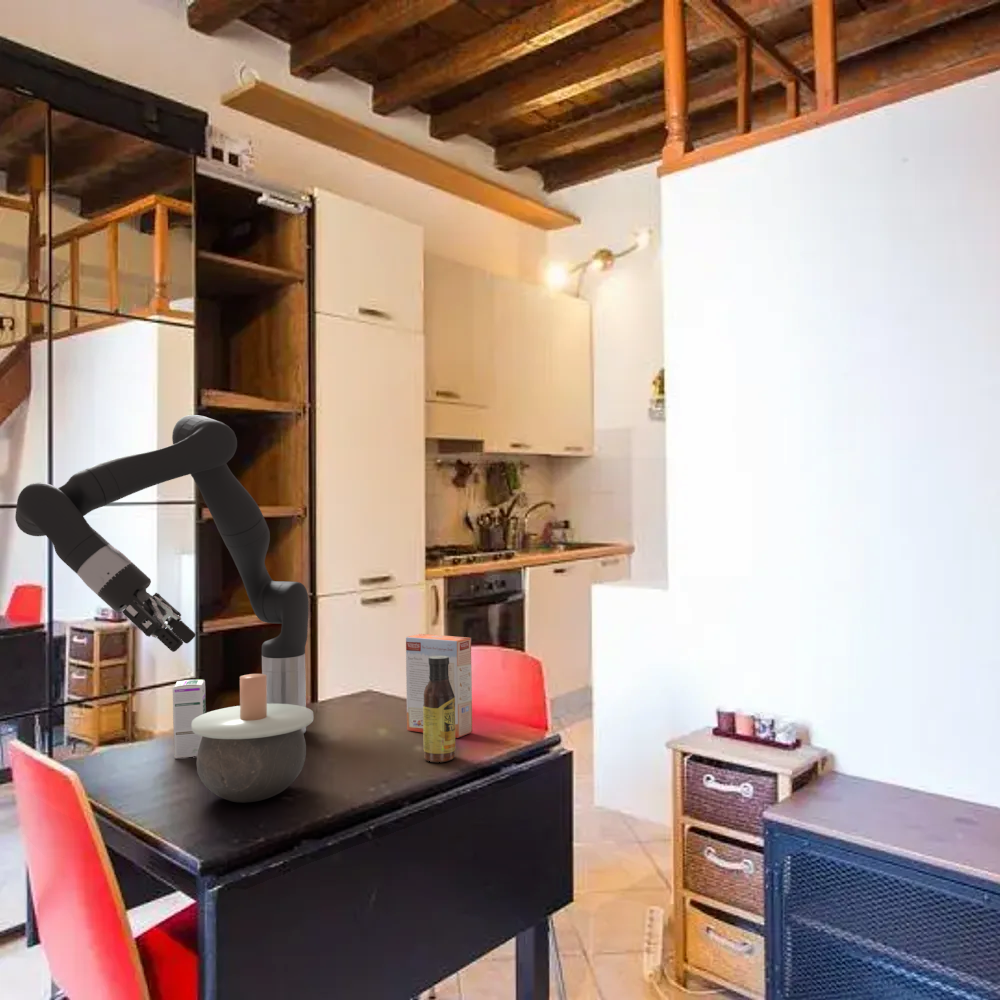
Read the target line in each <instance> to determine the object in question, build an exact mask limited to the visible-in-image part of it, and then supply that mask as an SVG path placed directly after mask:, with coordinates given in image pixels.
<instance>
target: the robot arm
mask: <svg viewBox="0 0 1000 1000" xmlns="http://www.w3.org/2000/svg"><path fill="white" fill-rule="evenodd" d="M237 439H238V438H237V437H236V434H235V431H234V430H233V428H230V426H229V425H227V424H225V423H224V422H222V421H219V420H216V419H213V418H210V417H207V416H204V415H198V414H189V415H185V416H183V417H180V419H178V421H177V422H176V423H175V425H174V427H173V430H172V437H171V440H172V444H171V445H168V446H165V447H162V448H158V449H155V450H151V451H146V452H140V453H139V452H138V453H135V454H129V455H124V456H120V457H115V458H112V459H109V460H106V461H103V462H100V463H97V464H95V465H93V466H91V467H87V468H84V469H82V470H80V471H77V472H76V473H74V474H72V476H70V478H69V479H68V480H67V482H65V483H64V484H63V485H62V486H60V487H56V486H54V485H52V484H50V483H46V482H34V483H30V484H29V485H26V486H25V487H24V488H23V489H22V490H21V491H20V493H19V495H18V497H17V501H16V508H15V517H14V519H15V523H16V525H17V527H18V528H19V530H20V531H21V532H23V533H24V534H27V535H29V536H33V537H44V536H45V537H47V538H48V540H49V541H50V542H51V543H52V545H53V547H54V548H53V549H54V551H55V554H56V555H57V556H58V558H59V559H60V560H61V561H62V562H63V563H64V564H65V565H66V566H68V568H70V569H71V570H72V571H73V572H74V573H75V574H76V575H78V577H79V578H80V579H81V580H82V582H83V583H84V584H85V585H86V586H87V587H88V588H89V590H91V591H92V592H93V593H95V595H97V596H98V597H99V598H100V599H101V600H102V601H103V602H104V603H106V604H107V606H109V607H110V608H111V609H112V610H113V611H114V612H117V613H119V612H122V613H123V615H124V616H126V618H127V619H129V620H130V621H131V622H132V623H133V624H134V625H135V626H136V627H137V628H138V630H140V631H141V632H142V633H143V634H144V635H145V636H146V637H149V638H150V637H151V636H152V637H153V638H156V639H158V640H159V641H160V643H162V644H163V645H164V646H165V647H166V648H167V649H169V650H170V651H171V652H176V651H177V650H179V649H180V648H181V647H182V645H184V643H185V644H189V643H190V642H192V640H194V638H195V637H196V633H195V632H194V631H193V630H192V629H191V628H190V627H189V626H188V625H186V624H185V622H183V620H182V618H181V616H182V614H181V612H180V611H178V610H177V609H176V608H175V607H174V606H172V605H171V604H170V602H168V601H167V600H166V599H165V598H163V597H162V596H161V595H160V594H159V593H158V592H155V593H154V594H153V595H151V594H150V593H148V591H147V589H148V588H149V587H150V586H151V583H152V580H151V578H150V577H149V576H147V574H145V573H144V572H143V571H142V570H141V569H140V568H139V566H137V565H135V563H134V562H132V561H131V560H130V559H129V558H128V557H127V556H126V555H125V554H124V553H122V551H121V550H118V549H117V548H116V547H114V545H112V544H111V543H110V542H108V540H106V538H104V537H103V536H102V535H101V534H100V533H99V532H97V531H96V530H95V529H94V528H93V527H91V525H90V524H89V523H88V521H87V520H86V518H85V517H84V516H86V515H87V514H89V513H91V512H92V511H94V510H97V509H100V508H102V507H105V506H107V505H109V504H112V503H114V502H116V501H119V500H121V499H123V498H126V497H128V496H130V495H132V494H135V493H138V492H140V491H142V490H145V489H148V488H150V487H154V486H156V485H159V484H161V483H165V482H169V481H172V480H175V479H178V478H181V477H186V476H189V475H190V477H192V480H193V481H194V482H195V484H196V486H197V487H198V490H199V491H200V494H201V496H202V498H203V501H204V503H205V505H206V507H207V509H208V510H209V513H210V515H211V517H212V518H213V522H214V524H215V526H216V528H217V530H218V533H219V535H220V536H221V538H222V540H223V543H224V545H225V546H226V548H227V549H228V551H229V554H230V556H231V559H232V560H233V562H234V564H235V566H236V568H237V570H238V573H239V576H240V577H241V580H242V583H243V586H244V588H245V591H246V594H247V597H248V599H249V603H250V606H251V608H252V610H253V613H254V614H255V616H256V618H257V619H258V620H260V621H261V622H262V623H266V624H281V630H280V633H279V634H278V635H277V636H276V637H274V638H271V639H268V640H265V641H264V642H263V643H262V645H261V674H265V675H266V679H267V704H292V705H298V706H303V707H306V708H307V703H306V702H307V701H306V700H307V695H306V694H307V693H306V691H307V690H306V689H307V688H306V687H307V686H306V678H307V677H306V644H307V642H308V629H309V625H308V623H309V610H310V609H309V604H310V603H309V595H308V590H307V588H306V586H305V585H304V583H301V582H298V581H279V580H278V581H277V580H276V581H275V580H273V579H272V578H271V576H270V574H269V572H268V570H267V567H266V564H265V561H266V556H267V552H268V550H269V544H270V542H271V541H270V540H271V539H270V538H271V536H270V535H271V533H270V532H271V531H270V529H269V526H268V524H267V521H266V519H265V517H264V515H263V513H262V510H261V509H260V507H259V505H258V503H257V502H256V500H255V499H254V498H253V497H252V495H251V494H250V493H249V491H248V490H247V489H246V488H245V487H244V486H243V485H242V483H241V482H240V481H239V480H238V478H237V477H236V476H235V475H234V474H233V472H232V471H231V469H230V467H229V466H228V464H227V463H228V462H229V461H230V460H231V459H232V458H233V457H234V456H235V453H236V451H237V448H238V440H237ZM302 732H303V735H304V734H306V732H307V726H306V727H304V728H302Z"/></svg>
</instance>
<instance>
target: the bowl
mask: <svg viewBox="0 0 1000 1000" xmlns="http://www.w3.org/2000/svg"><path fill="white" fill-rule="evenodd" d="M306 756H307V745H306V739H305V735H304V734H303V732H302V729H299V730H296V731H293V732H289V733H285V734H281V735H275V736H269V737H261V738H251V739H216V738H208V737H203V736H202V739H201V742H200V745H199V749H198V754H197V757H196V764H195V765H196V770H197V771H196V772H197V775H198V777H199V779H200V780H201V783H202V784H203V785H204V786H205V788H206V789H207V790H209V791H210V792H211V793H212V794H214V795H215V796H217V797H219V798H222V799H223V800H226V801H228V802H232V803H239V804H240V803H245V804H246V803H255V802H260V801H265V800H267V799H270V798H272V797H275V796H277V795H278V794H280V793H282V792H284V791H285V790H287V788H289V787H290V786H291V785H292V784H293V783H294V781H296V779H297V778H298V776H299V775H300V774H301V772H302V771H303V768H304V765H305V761H306Z"/></svg>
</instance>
